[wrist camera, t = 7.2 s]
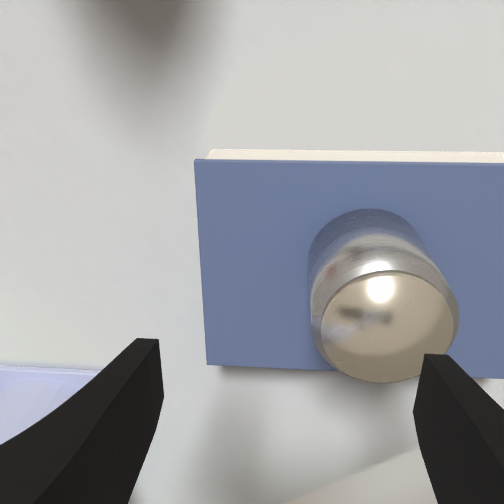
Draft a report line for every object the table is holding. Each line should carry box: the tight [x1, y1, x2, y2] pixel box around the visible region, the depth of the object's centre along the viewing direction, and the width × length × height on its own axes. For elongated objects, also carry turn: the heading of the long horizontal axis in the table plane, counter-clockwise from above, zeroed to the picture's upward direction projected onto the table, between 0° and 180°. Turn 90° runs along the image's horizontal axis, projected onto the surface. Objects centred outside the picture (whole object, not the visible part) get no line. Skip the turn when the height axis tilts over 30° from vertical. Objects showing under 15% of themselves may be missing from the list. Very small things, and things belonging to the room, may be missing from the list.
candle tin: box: [307, 209, 460, 383], centre depth 18 cm, size 5×5×5 cm
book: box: [194, 149, 504, 379], centre depth 22 cm, size 10×14×3 cm
